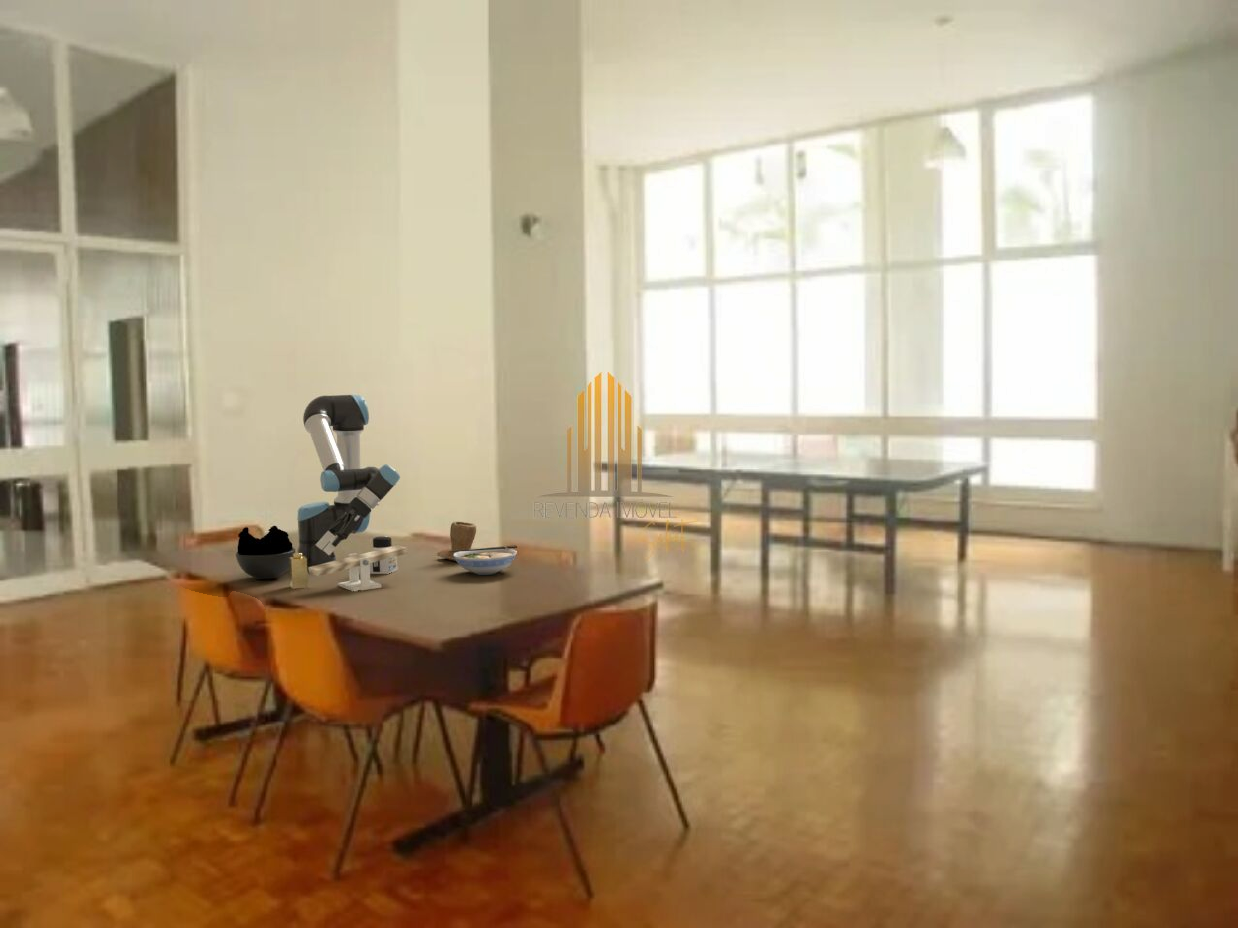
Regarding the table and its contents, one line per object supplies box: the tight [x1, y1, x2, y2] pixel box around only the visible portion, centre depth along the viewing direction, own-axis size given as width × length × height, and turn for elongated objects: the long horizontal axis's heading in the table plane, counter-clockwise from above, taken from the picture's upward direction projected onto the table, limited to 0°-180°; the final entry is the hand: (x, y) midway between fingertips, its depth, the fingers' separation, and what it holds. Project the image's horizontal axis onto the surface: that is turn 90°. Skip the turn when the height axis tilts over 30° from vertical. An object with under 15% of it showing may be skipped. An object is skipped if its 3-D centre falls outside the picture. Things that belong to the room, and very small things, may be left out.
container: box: [370, 535, 398, 575], centre depth 364 cm, size 8×8×13 cm
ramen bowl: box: [449, 544, 518, 576], centre depth 357 cm, size 25×23×8 cm
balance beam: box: [307, 544, 408, 577], centre depth 337 cm, size 32×8×2 cm, turn 126°
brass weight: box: [289, 552, 309, 590], centre depth 339 cm, size 5×5×12 cm
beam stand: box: [338, 553, 382, 592], centre depth 338 cm, size 10×13×10 cm
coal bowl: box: [235, 525, 296, 580], centre depth 354 cm, size 20×20×19 cm
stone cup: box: [436, 520, 477, 562], centre depth 386 cm, size 15×12×15 cm
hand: (322, 550), depth 341 cm, fingers open, 13 cm apart
